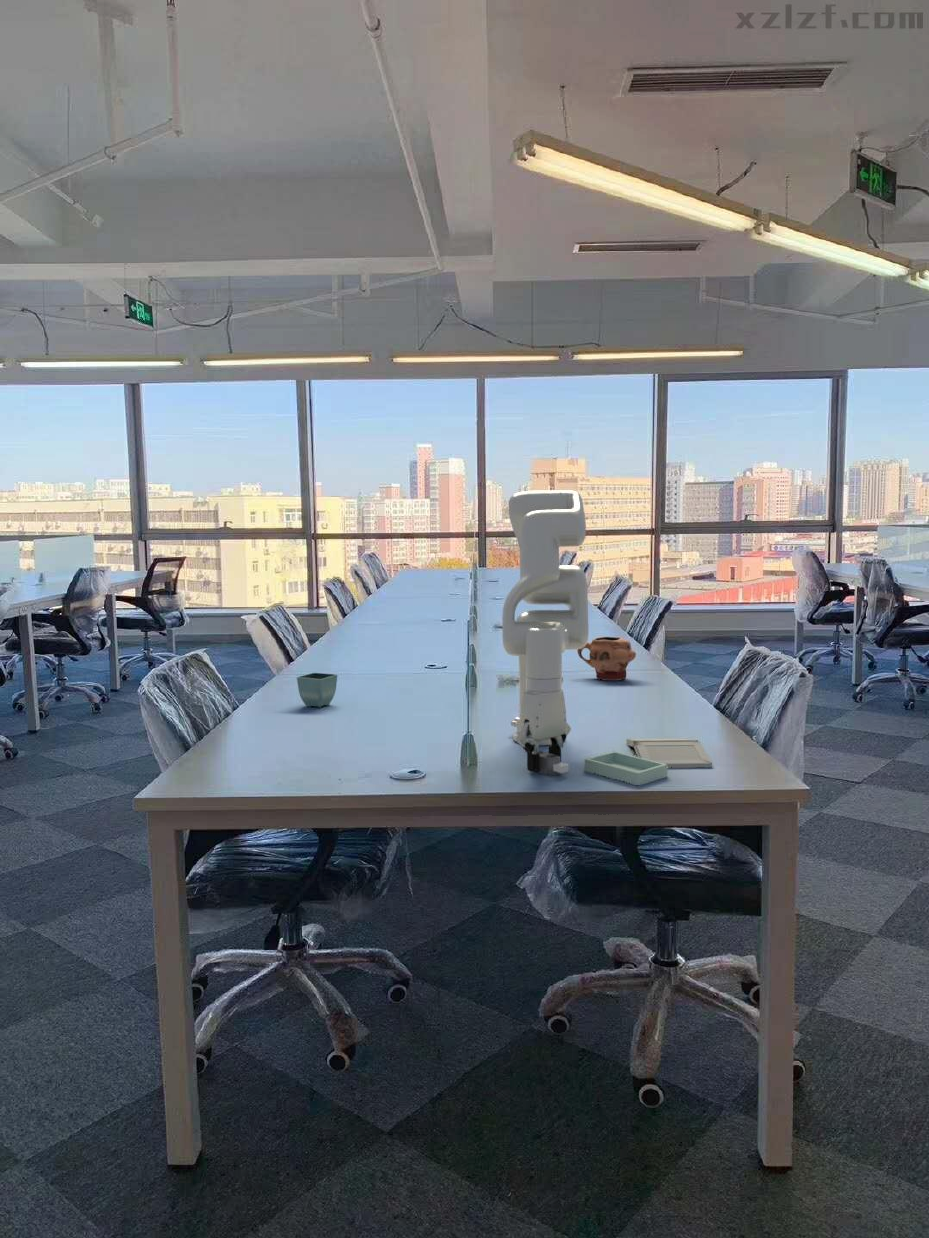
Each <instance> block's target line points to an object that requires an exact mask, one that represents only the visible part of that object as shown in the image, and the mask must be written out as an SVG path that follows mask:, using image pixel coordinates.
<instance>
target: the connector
mask: <svg viewBox="0 0 929 1238" xmlns="http://www.w3.org/2000/svg"><path fill="white" fill-rule="evenodd" d="M537 754H539V755H540V772H538V773H539V774H542V775H546V776H550V777H551V776H552V777H556V776H560V775H561V774H564V773H567V772H569V771H570V764H568V763H564V762H562V761H561V762H560V756H557V755H554V754H550V753H549V752H547V751H542V750H538V752H537Z"/></svg>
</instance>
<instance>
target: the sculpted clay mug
mask: <svg viewBox="0 0 929 1238" xmlns="http://www.w3.org/2000/svg"><path fill="white" fill-rule="evenodd" d="M584 649H588V650H589V659H586V658H585V657H584V656H583V654H582V652H583V651H584ZM576 650H577V655H578V657H579V658H580V659H582V660H583V661H584V662H585V663H586V664H587V665H588V666H590V667H591V668H594V670H595V674H596V676H595V677H596V679H597V678H598V679H597V680H600V679H602V680H601V681H622V679H623V680H624V679H626V678H627V667H628V665H629V664H630V663H631V662H632V661H633V660H635V659H636V657H637V656H636V655H637V653H636V651H634V649H632V645H631V642H630V641H629V640H628V639H625V638H622V637H615V636H600V637H596V638H593V639H592V641H591V642H589V641H587V644H586V646H585V647H583V648H581V649H576Z"/></svg>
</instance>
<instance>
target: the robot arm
mask: <svg viewBox="0 0 929 1238" xmlns="http://www.w3.org/2000/svg"><path fill="white" fill-rule="evenodd" d="M583 503H584V502H583V499H582V496H581V494H580V493H579V492H577V491H576V490H569V489H568V490H567V489H564V490H557V489H556V490H526V491H520V492H516V493H514V494H512V495H511V496H510V497H509V500H508V515H509V521H510V524H511V528H512V530H513V533H514V535H515V537H516V541H517V544H518V547H519V574H520V575H519V576H520V577H519V580H518V581H517V582H516V584H515V585H514V586H513V587H512V588H511V590H510V591H509V592H508V594H507V595H506V598H505V600H504V604H503V607H502V615H501V616H502V617H501V618H502V619H501V620H502V625H501V626H502V627H501V628H502V633H501V634H502V635H501V636H502V646H503V649H504V651H505V652H506V654H508V655H510V656H514V657H518V683H519V684H518V685H519V686H518V687H519V688H518V690H519V691H518V692H519V694H518V695H519V697H518V698H519V704H518V706H519V707H518V708H519V711H518V712H519V716H517V717H515V719H514V720H512V721H511V722H510V725H511V726H512V727H515V728H516V732H514V733H513V734H512V736H513V737H512V739H513V740H514V742H516V743H518V744H519V745H520V746H521V748H522V749H523V750H524V752H525V753H526V757H527V758H526V759H527V760H526V761H527V763H526V767H527V768H526V769H527V771H529V772H533V773H536V774H538V773H539V772H540V755H539V754H537V752H538V751H539V747H540V746H548V753H550V754H554V755H557V756H560V762H561V763H562V749H563V747H564V743H565V741H566V739H567V736H568V735H569V734H570V732H571V730H572V728H571V726H570V724H569V723H568V722H567V711H566V710H567V708H566V699H565V695H564V694H565V693H564V690H563V688H562V687H563V685H562V684H563V682H564V678H563V672H562V671H563V669H562V667H563V665H562V664H563V663H562V661H563V657H562V655H563V653H564V652H565V651H567V650H568V651H569V650H571V651H572V650H578V649H581V648H583V647H585V646H586V644H587V642H589V641H588V640H589V632H590V631H589V629H590V628H589V604H588V603H589V600H588V599H589V598H588V581H587V576H586V572H585V571H584V569H583V568H582V567H580V566H578V565H575V564H574V565H572V564H562V565H561V564H560V548H562V547H563V548H564V547H565V548H566V547H569V548H571V547H580V546H582V544H584V542H585V538H586V532H587V525H586V515H585V509H584V505H583ZM521 601H524V602H525V603H526V604H529V605H537V606H538V605H539V606H542V605H544V606H546V605H547V606H548V605H550V606H551V605H554V606H555V605H557V606H559V605H561V606H562V605H563V606H567V608H568V609H534V610H527V611H524V612H521V613H520V614H518V616H517V618H516V617H515V614H516V610H517V607H518V605H519V603H521ZM515 619H516V620H515Z"/></svg>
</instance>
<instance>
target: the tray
mask: <svg viewBox="0 0 929 1238" xmlns="http://www.w3.org/2000/svg"><path fill="white" fill-rule="evenodd" d="M667 767H668V765H667V764H663V763H659V762H655V761H651V760H647V759H643V758H639V757H637V756H634V755H630V754H627V753H623V752H619V751H610V752H607V753H603V754H599V755H598V754H597V755H595V756H591V757H588V758H584V772H587V773H591V774H594V773H596V774H595V775H597V774H599V775H598V776H601V775H602V777H604V776H606V777H605V778H608V777H609V779H612V780H615V779H618V780H617V781H619V780H621V781H620V782H622V781H625V782H624V783H626V782H627V784H629V783H630V785H634V786H636V785H639V786H642V785H645V784H648V783H651V782H654V781H658V779H659V780H662V779H664V778H667V777H668V768H667Z"/></svg>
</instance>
